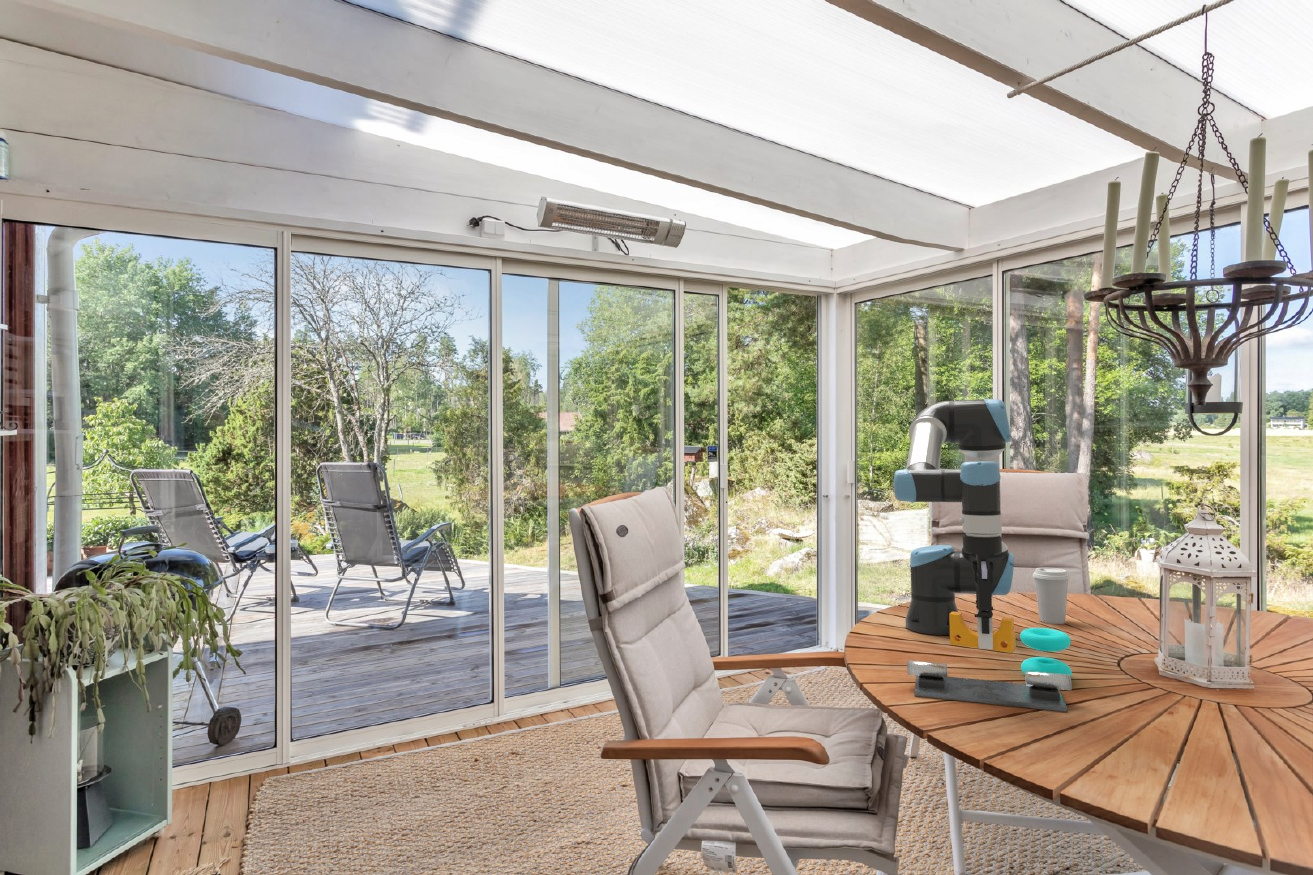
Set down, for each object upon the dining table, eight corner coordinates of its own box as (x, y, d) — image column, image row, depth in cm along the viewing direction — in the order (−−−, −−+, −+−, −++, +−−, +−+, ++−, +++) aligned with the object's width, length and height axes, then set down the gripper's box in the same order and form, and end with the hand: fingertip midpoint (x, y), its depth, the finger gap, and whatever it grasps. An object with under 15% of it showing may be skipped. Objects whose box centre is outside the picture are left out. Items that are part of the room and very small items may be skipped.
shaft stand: (909, 677, 159) (908, 652, 159) (1066, 692, 148) (1065, 666, 148) (907, 694, 148) (906, 668, 148) (1076, 712, 136) (1075, 684, 137)
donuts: (1066, 628, 161) (1074, 639, 151) (1067, 671, 161) (1075, 686, 151) (1017, 624, 164) (1022, 636, 155) (1018, 667, 164) (1023, 681, 155)
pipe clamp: (1015, 647, 147) (1014, 616, 147) (1012, 652, 143) (1011, 621, 143) (954, 639, 154) (954, 609, 154) (950, 644, 150) (949, 613, 150)
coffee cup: (1036, 615, 211) (1034, 566, 212) (1073, 619, 206) (1071, 568, 206) (1031, 622, 204) (1029, 571, 204) (1069, 627, 198) (1067, 573, 198)
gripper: (961, 529, 158) (964, 632, 158) (963, 539, 141) (966, 655, 141) (998, 529, 155) (1001, 635, 155) (1004, 540, 139) (1008, 658, 138)
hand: (985, 644), depth 148 cm, fingers closed on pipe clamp, 5 cm apart
